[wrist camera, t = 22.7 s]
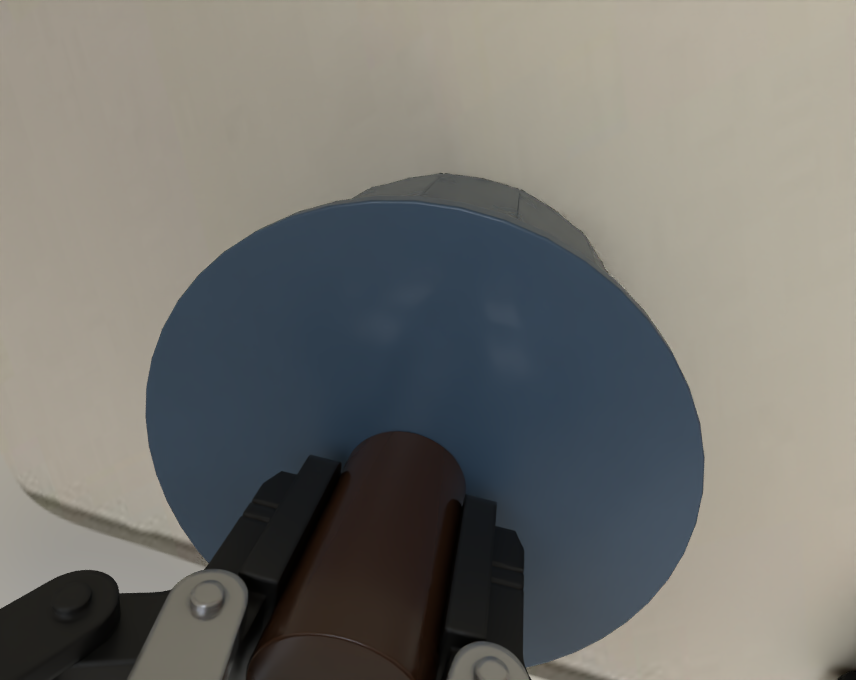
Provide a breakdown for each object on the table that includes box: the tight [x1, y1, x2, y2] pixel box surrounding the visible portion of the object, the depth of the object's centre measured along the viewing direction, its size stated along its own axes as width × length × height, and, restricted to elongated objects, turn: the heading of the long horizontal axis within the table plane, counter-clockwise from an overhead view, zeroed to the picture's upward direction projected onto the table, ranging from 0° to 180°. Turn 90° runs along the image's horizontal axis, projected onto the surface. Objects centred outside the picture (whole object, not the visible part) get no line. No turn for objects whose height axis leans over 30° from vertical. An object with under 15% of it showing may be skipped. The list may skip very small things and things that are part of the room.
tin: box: [352, 173, 608, 274], centre depth 18 cm, size 13×13×8 cm
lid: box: [146, 196, 704, 680], centre depth 12 cm, size 14×14×7 cm
